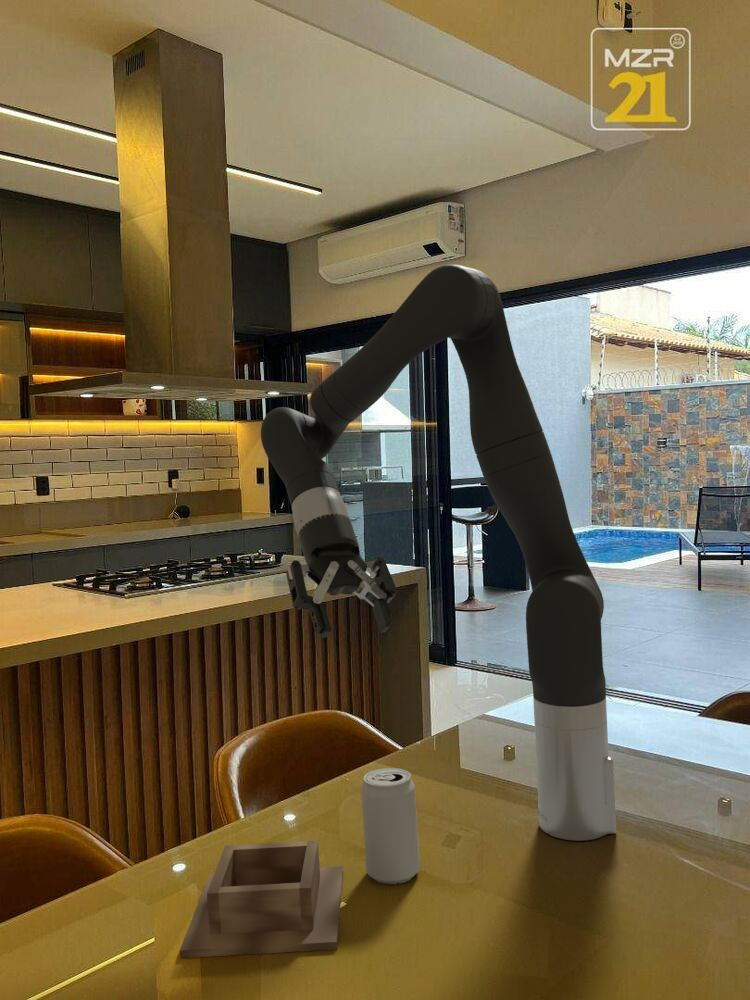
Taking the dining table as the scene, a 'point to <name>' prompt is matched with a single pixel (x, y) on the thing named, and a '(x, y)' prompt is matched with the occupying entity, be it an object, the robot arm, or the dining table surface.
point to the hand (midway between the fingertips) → (356, 632)
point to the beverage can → (390, 825)
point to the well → (267, 902)
